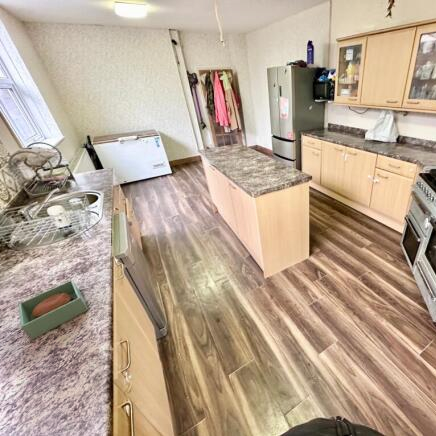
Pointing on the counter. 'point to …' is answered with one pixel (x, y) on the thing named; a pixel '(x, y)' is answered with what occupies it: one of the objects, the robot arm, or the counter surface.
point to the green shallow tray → (54, 317)
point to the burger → (51, 304)
